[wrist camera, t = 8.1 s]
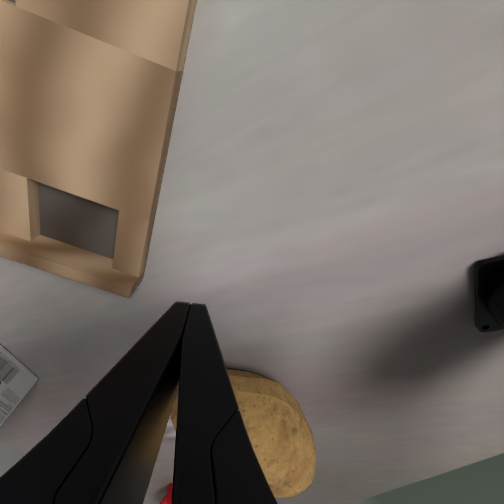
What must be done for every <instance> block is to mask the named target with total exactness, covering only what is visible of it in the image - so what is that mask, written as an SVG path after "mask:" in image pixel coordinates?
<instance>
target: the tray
mask: <svg viewBox="0 0 504 504" xmlns="http://www.w3.org/2000/svg"><path fill="white" fill-rule="evenodd" d="M196 1H197V0H0V256H2V257H5V258H8V259H11V260H14V261H17V262H20V263H23V264H26V265H29V266H33V267H36V268H39V269H42V270H45V271H48V272H51V273H54V274H57V275H60V276H63V277H66V278H70V279H73V280H76V281H79V282H82V283H85V284H88V285H91V286H94V287H97V288H100V289H103V290H107V291H110V292H113V293H116V294H119V295H122V296H125V297H128V298H130V296H131V295H132V293H133V292H134V290H135V289H136V287H137V286H138V285H139V283H140V282H141V280H142V279H143V276H144V271H145V266H146V261H147V256H148V250H149V245H150V240H151V235H152V230H153V224H154V219H155V214H156V209H157V204H158V198H159V193H160V188H161V183H162V178H163V173H164V167H165V162H166V157H167V152H168V147H169V141H170V136H171V131H172V126H173V121H174V115H175V110H176V105H177V100H178V95H179V90H180V84H181V79H182V74H183V69H184V64H185V58H186V53H187V48H188V43H189V38H190V32H191V27H192V22H193V17H194V12H195V7H196Z"/></svg>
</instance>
